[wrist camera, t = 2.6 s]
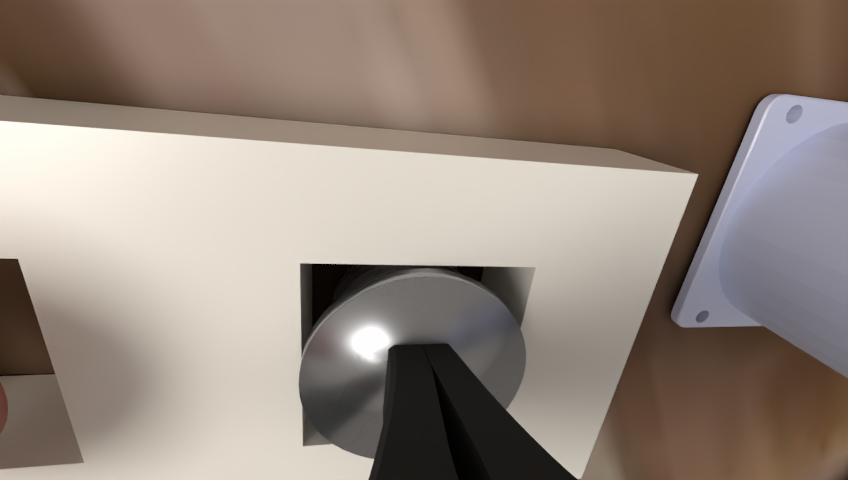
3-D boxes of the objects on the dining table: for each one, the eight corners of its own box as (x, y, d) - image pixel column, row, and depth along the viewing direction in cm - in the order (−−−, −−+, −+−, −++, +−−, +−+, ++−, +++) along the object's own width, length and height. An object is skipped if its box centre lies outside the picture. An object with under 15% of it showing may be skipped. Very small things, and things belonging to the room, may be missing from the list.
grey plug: (498, 227, 11) (548, 280, 8) (470, 370, 13) (503, 451, 10) (310, 220, 10) (296, 278, 7) (311, 376, 12) (300, 469, 9)
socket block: (615, 149, 11) (698, 174, 9) (540, 405, 15) (581, 478, 13) (-471, 53, 7) (-991, 44, 4) (-191, 452, 11) (-370, 580, 8)
